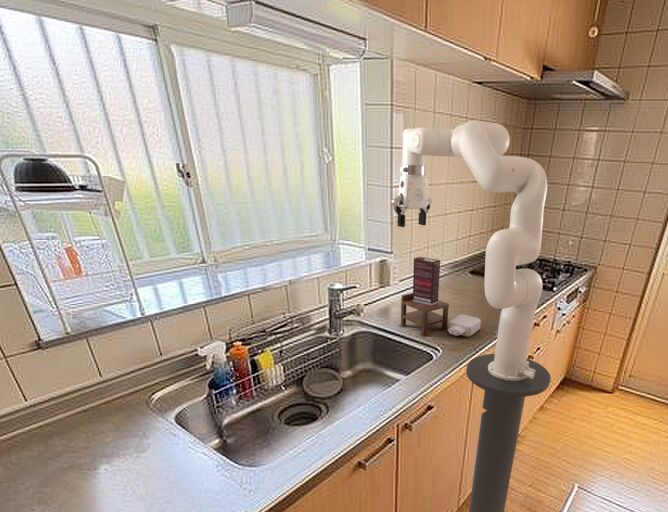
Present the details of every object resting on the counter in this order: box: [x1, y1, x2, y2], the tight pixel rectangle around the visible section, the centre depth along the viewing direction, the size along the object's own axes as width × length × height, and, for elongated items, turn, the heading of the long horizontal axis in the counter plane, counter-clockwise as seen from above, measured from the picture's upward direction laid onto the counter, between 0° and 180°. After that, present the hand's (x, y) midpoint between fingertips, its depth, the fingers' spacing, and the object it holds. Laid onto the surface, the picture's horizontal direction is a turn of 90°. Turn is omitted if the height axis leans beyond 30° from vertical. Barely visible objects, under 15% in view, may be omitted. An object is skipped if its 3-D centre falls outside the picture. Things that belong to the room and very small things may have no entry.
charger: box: [447, 313, 482, 338], centre depth 155 cm, size 5×9×15 cm
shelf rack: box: [400, 292, 450, 337], centre depth 156 cm, size 13×12×12 cm
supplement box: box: [412, 256, 441, 306], centre depth 151 cm, size 9×5×16 cm, turn 59°
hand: (411, 225), depth 146 cm, fingers open, 9 cm apart
